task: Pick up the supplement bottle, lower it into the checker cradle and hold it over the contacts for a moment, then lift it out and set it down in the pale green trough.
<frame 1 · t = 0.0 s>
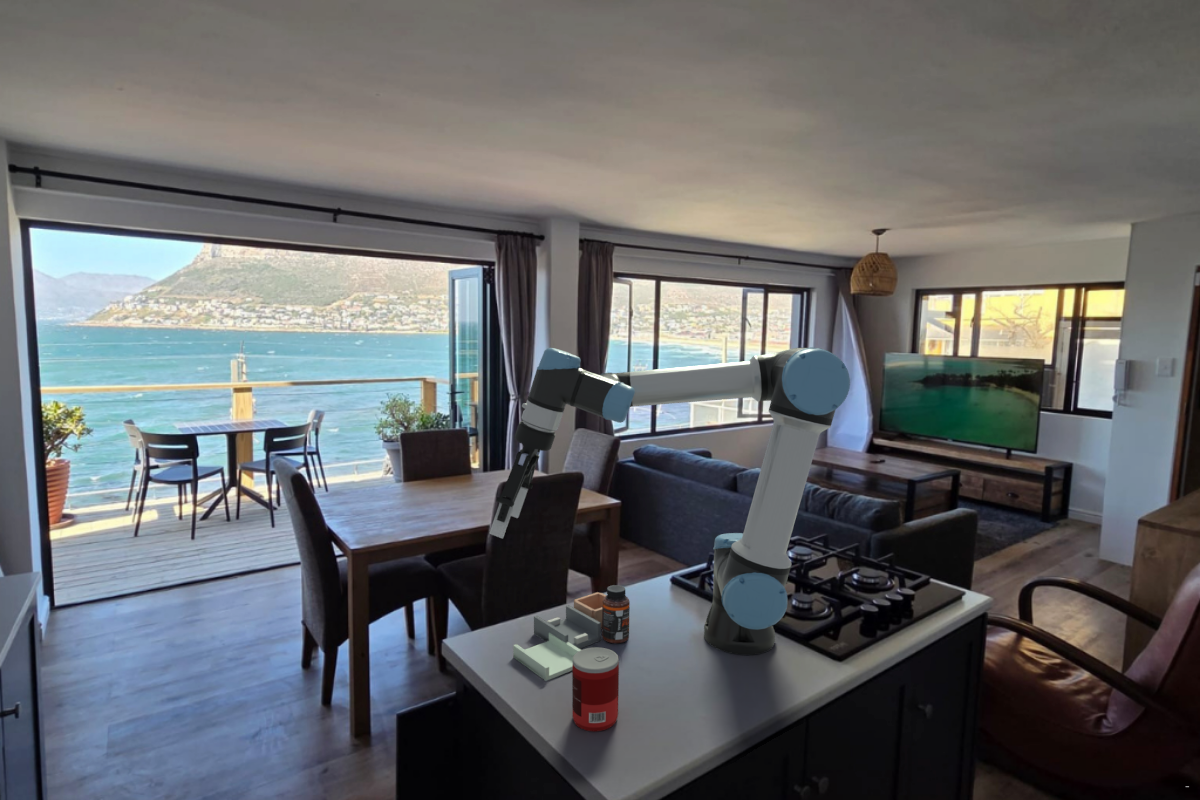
hand: (504, 525, 126), 28 cm above the counter, tool tilted 20°, fingers open, 13 cm apart
trough: (548, 661, 128), on the counter
checker cradle: (567, 637, 138), on the counter
canned food: (595, 720, 108), on the counter
open cardboard box: (596, 621, 146), on the counter
supplement bottle: (615, 639, 138), on the counter
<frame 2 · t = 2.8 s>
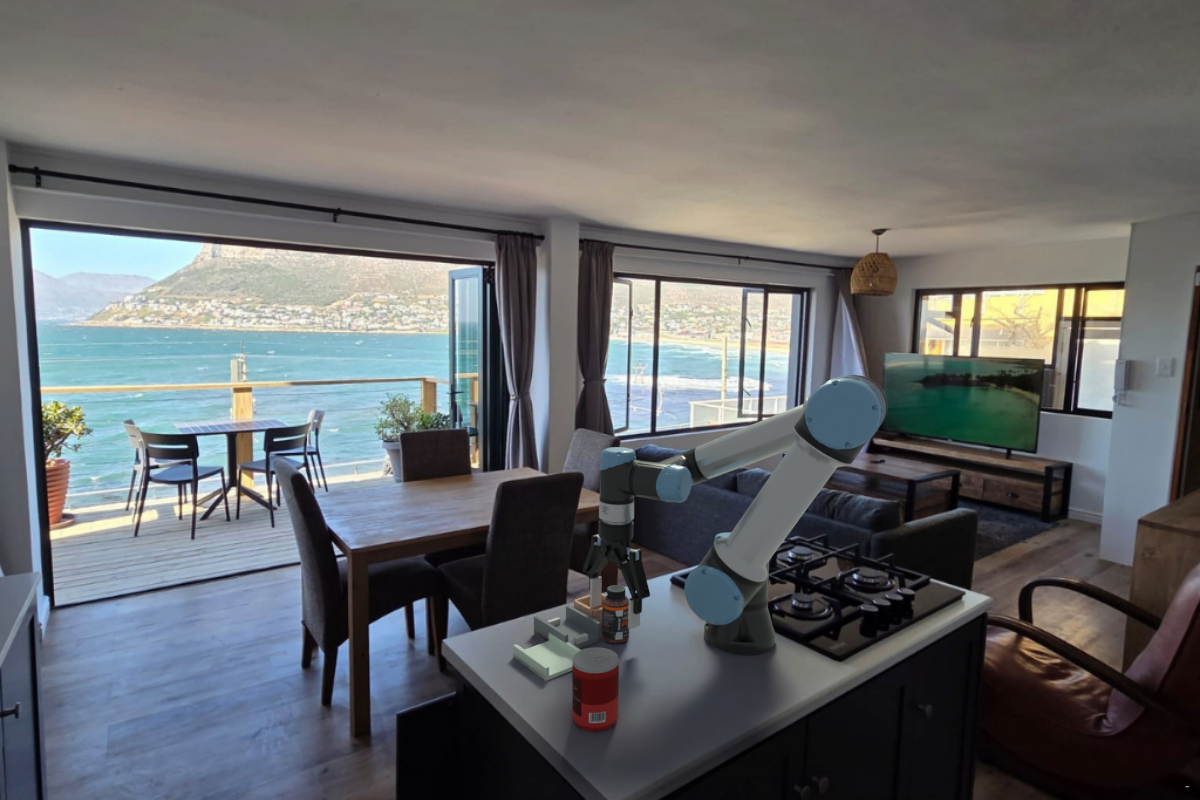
hand: (614, 616, 138), 5 cm above the counter, tool pointing down, fingers open, 12 cm apart
nothing on the counter moved.
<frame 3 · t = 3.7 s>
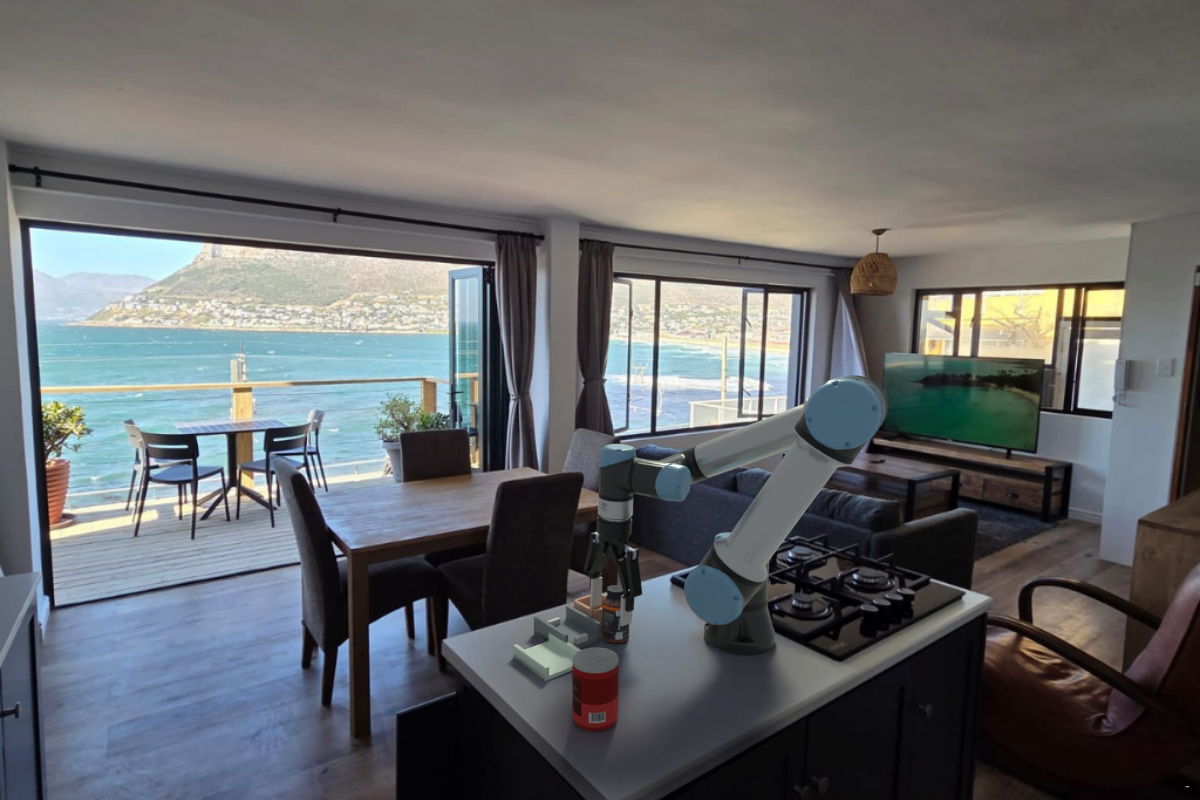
hand: (610, 614, 139), 5 cm above the counter, tool pointing down, fingers open, 9 cm apart
supplement bottle: (615, 639, 138), on the counter, touching gripper
everything else where it was.
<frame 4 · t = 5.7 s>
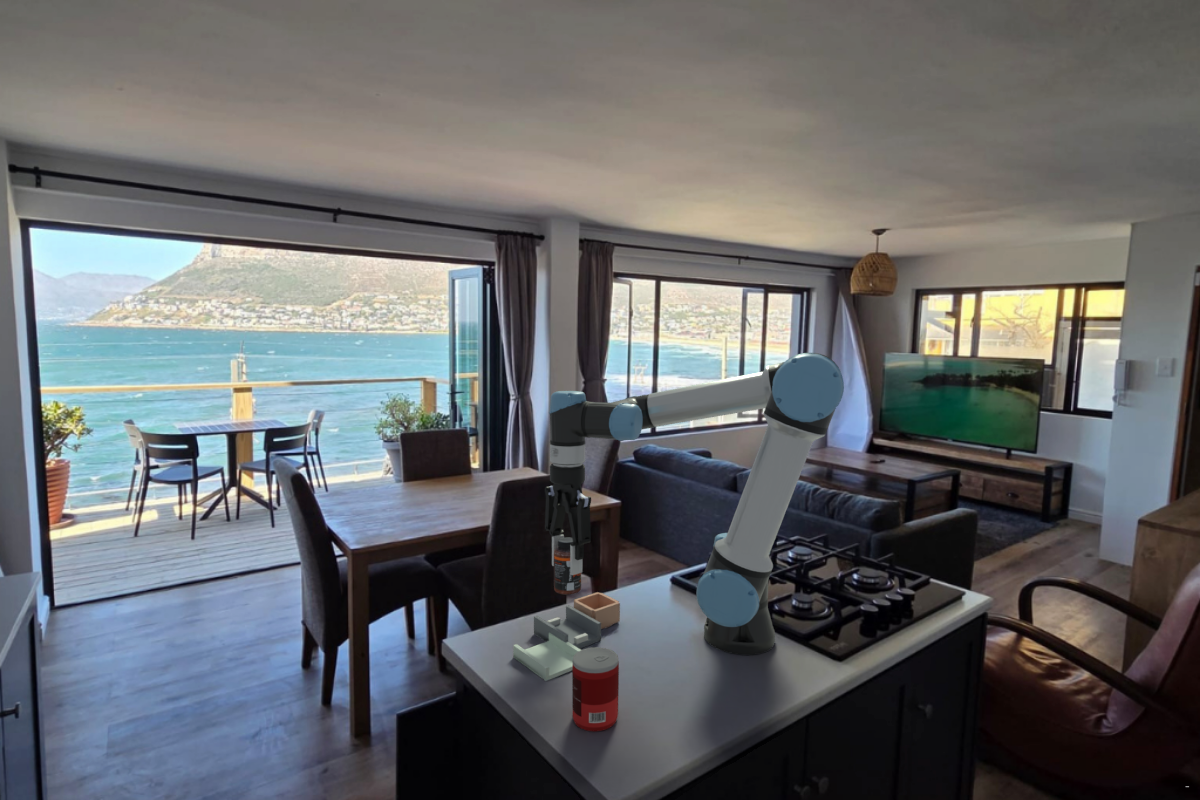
hand: (566, 568, 136), 15 cm above the counter, tool pointing down, fingers closed on supplement bottle, 6 cm apart
supplement bottle: (567, 591, 137), point 10 cm above the counter, touching gripper
everything else where it was.
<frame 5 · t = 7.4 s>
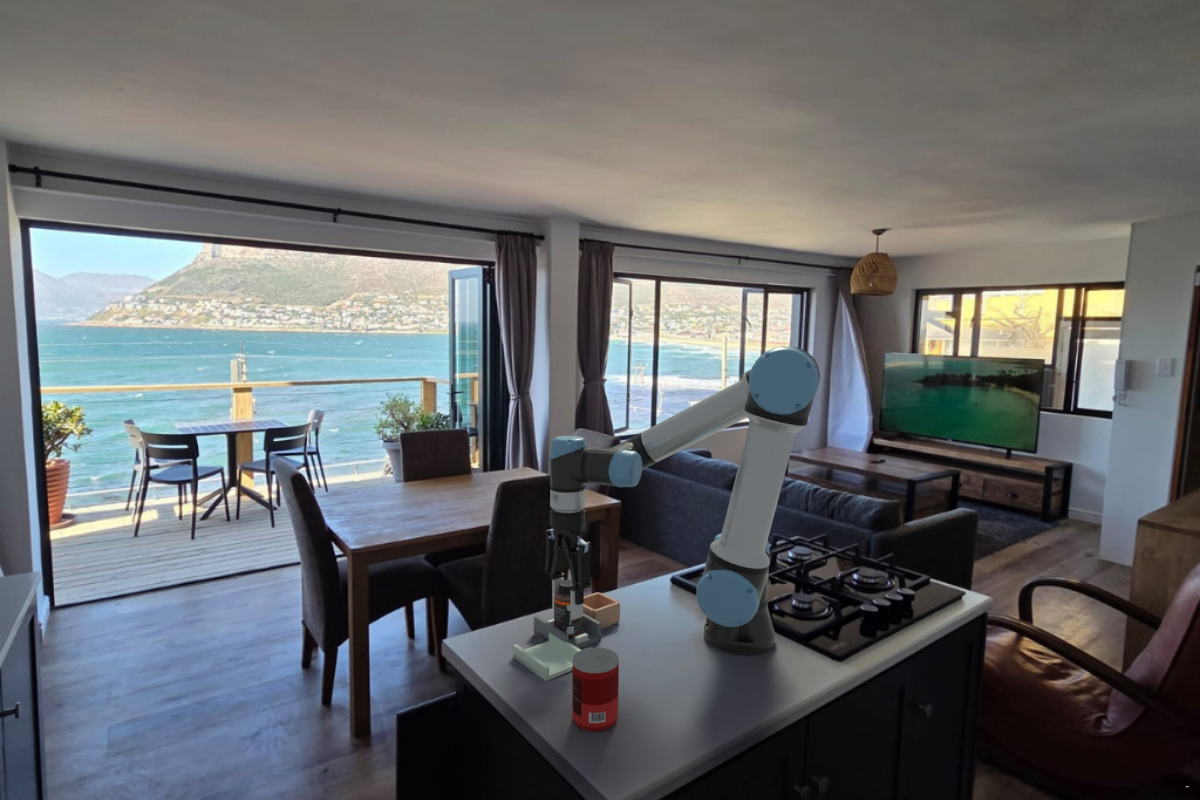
hand: (567, 612, 137), 6 cm above the counter, tool pointing down, fingers closed on supplement bottle, 6 cm apart
supplement bottle: (567, 633, 138), point 1 cm above the counter, touching checker cradle, gripper
everything else where it was.
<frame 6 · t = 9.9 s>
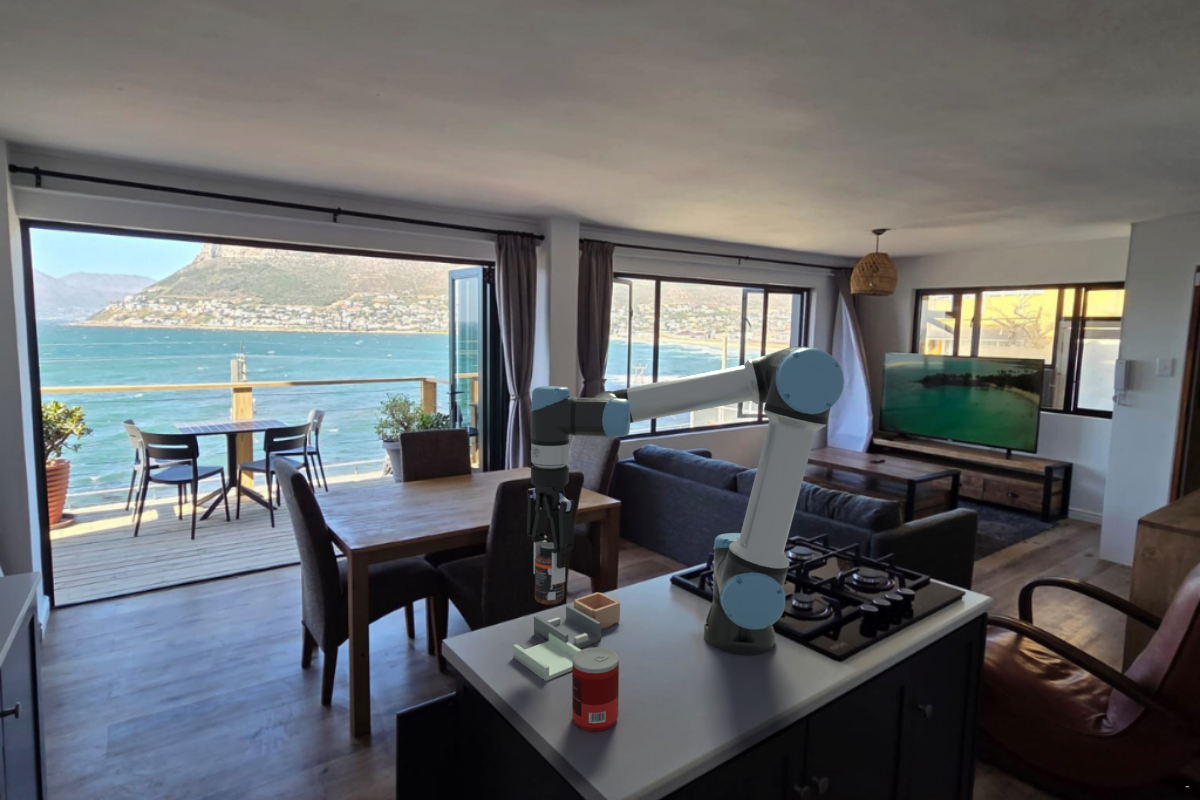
hand: (549, 577, 127), 17 cm above the counter, tool pointing down, fingers closed on supplement bottle, 6 cm apart
supplement bottle: (549, 600, 128), point 12 cm above the counter, touching gripper
everything else where it was.
when the fingers open (5 cm above the counter, at t = 12.4 s): supplement bottle stays where it is, resting on trough.
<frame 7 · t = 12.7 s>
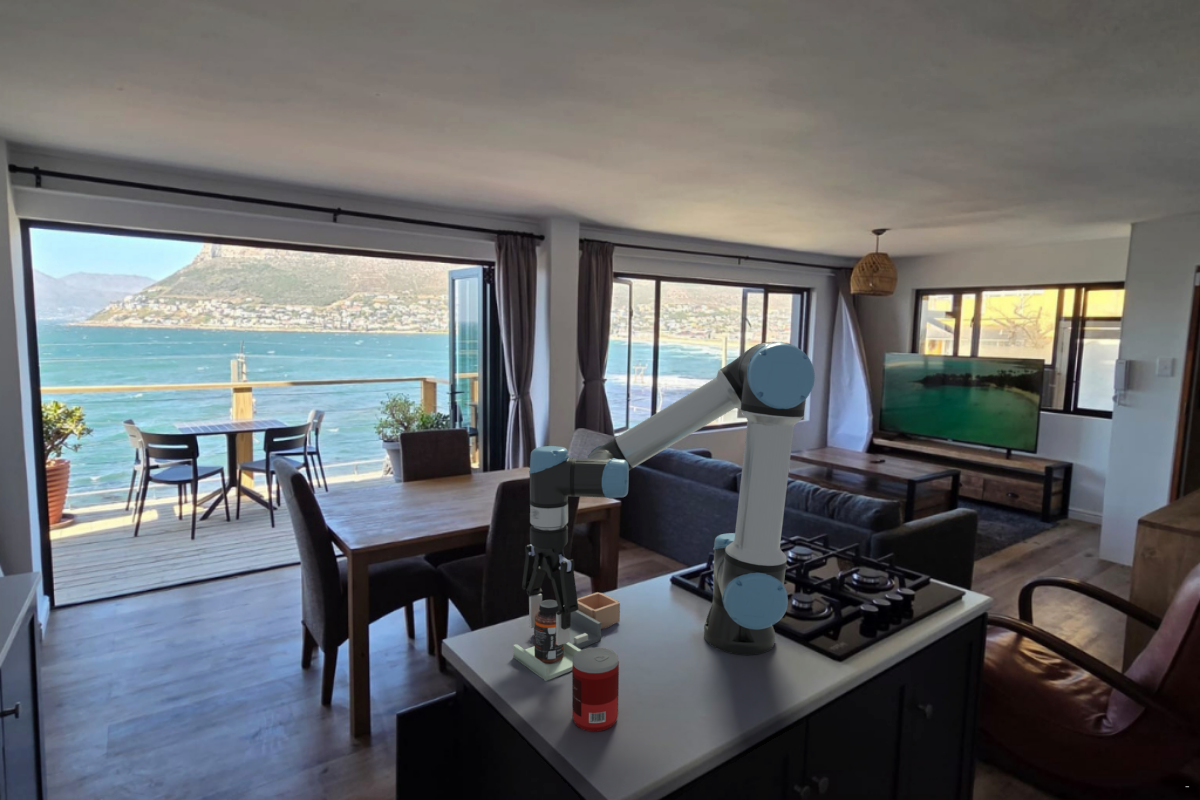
hand: (548, 634, 127), 6 cm above the counter, tool pointing down, fingers open, 9 cm apart
supplement bottle: (549, 658, 128), point 1 cm above the counter, touching trough
everything else where it was.
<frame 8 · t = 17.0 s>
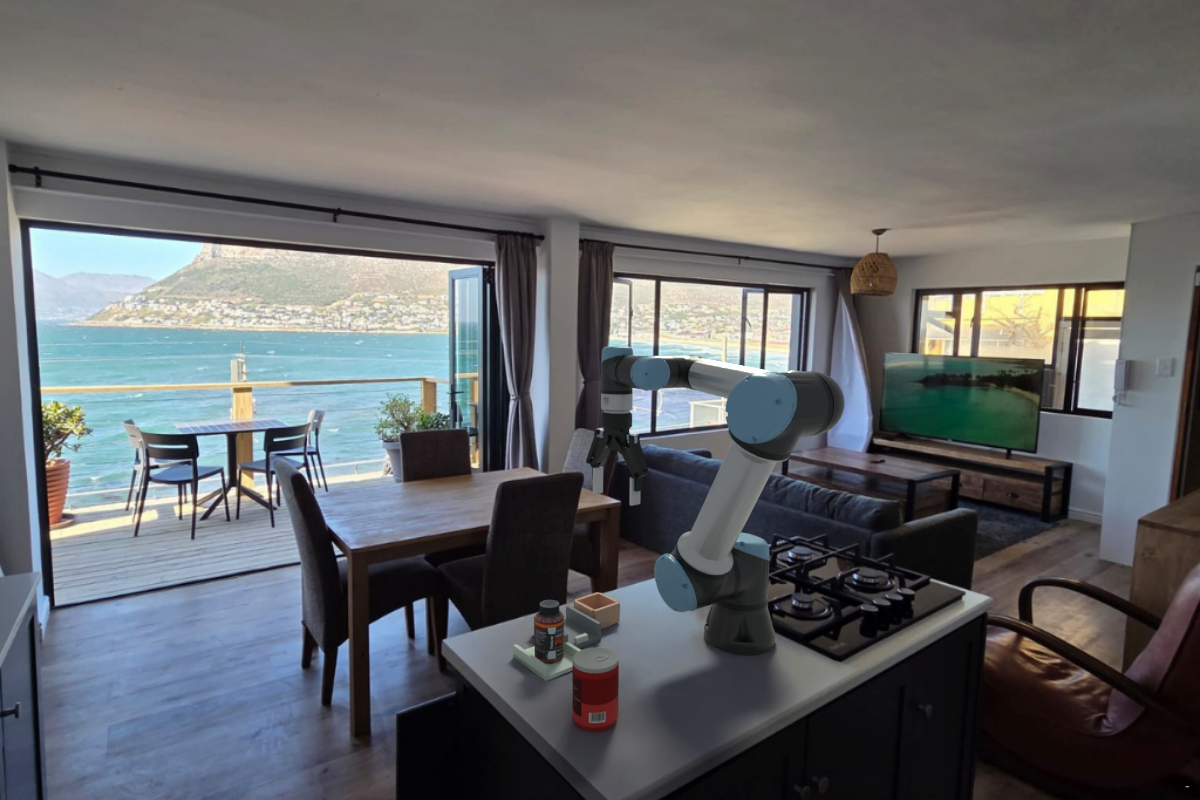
hand: (615, 498, 152), 27 cm above the counter, tool pointing down, fingers open, 13 cm apart
nothing on the counter moved.
at the end: supplement bottle inside the target area on the trough (0.1 cm from its centre), point 0.6 cm above the trough's base; supplement bottle tilted 0°; the gripper is holding nothing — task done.
